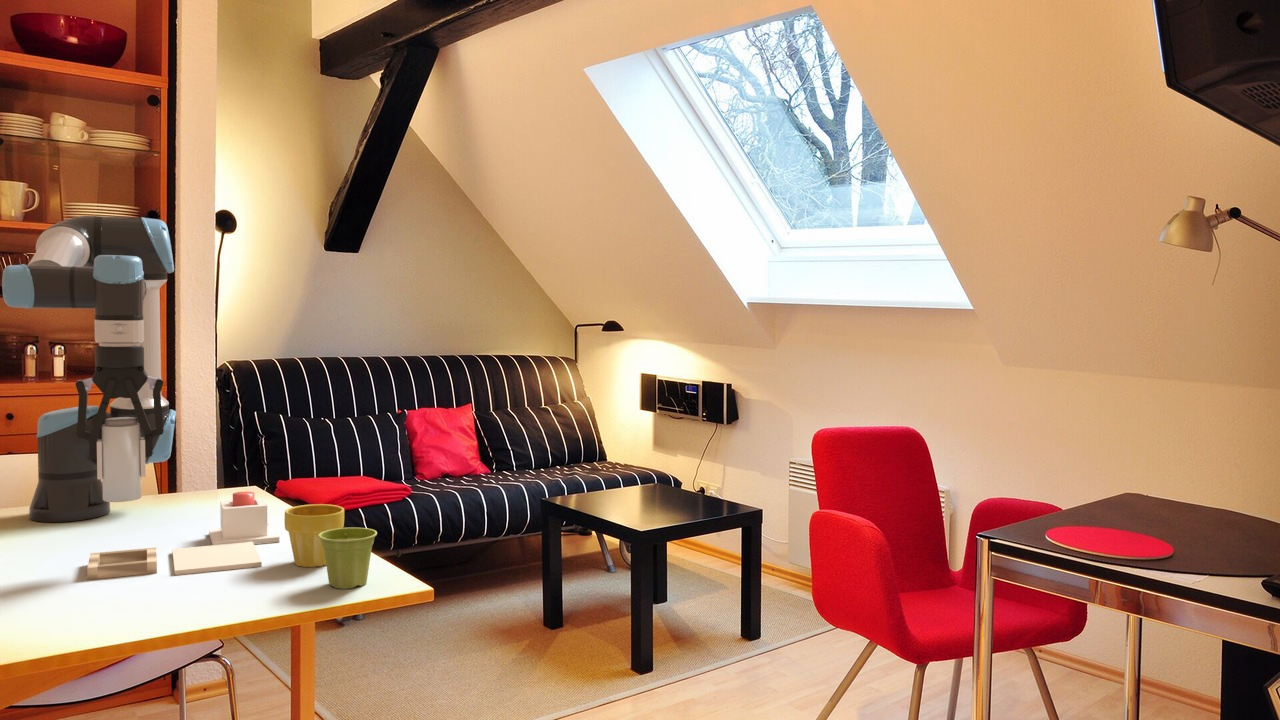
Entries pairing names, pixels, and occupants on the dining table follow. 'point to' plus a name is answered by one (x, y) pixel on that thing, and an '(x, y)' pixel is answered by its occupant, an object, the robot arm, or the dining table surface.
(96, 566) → the socket
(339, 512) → the plant pot
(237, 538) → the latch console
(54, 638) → the dining table surface
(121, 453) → the filter cartridge
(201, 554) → the sand mat
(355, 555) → the plant pot
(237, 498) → the latch button
